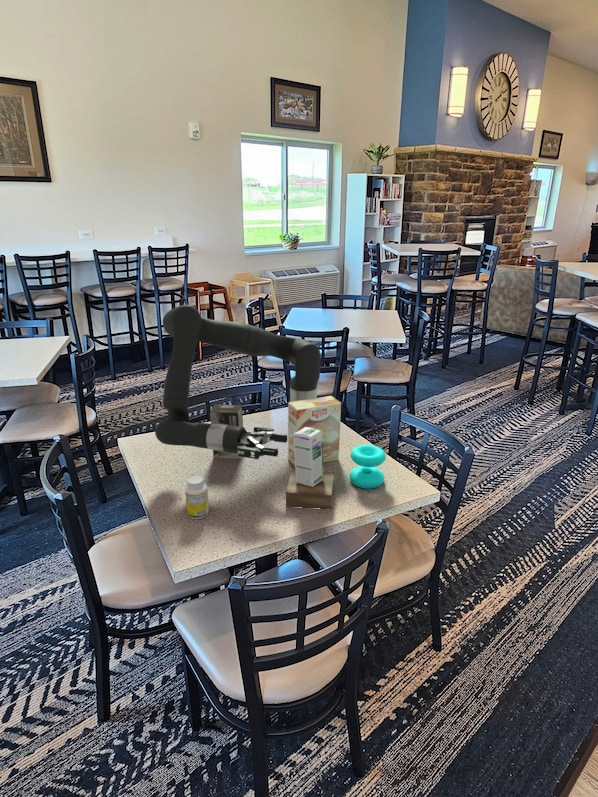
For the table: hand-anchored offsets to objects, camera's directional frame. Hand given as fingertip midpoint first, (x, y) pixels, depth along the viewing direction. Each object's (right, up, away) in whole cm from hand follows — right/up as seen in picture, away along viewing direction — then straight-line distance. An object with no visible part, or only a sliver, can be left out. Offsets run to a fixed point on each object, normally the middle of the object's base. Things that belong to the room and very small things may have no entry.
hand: (282, 445), depth 133 cm
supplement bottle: (-22, -18, -5) cm, 28 cm away
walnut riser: (+8, -15, +3) cm, 17 cm away
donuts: (+24, -12, +11) cm, 29 cm away
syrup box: (+7, -10, +2) cm, 13 cm away
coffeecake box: (+9, -7, +23) cm, 26 cm away
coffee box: (-18, -6, +26) cm, 32 cm away
